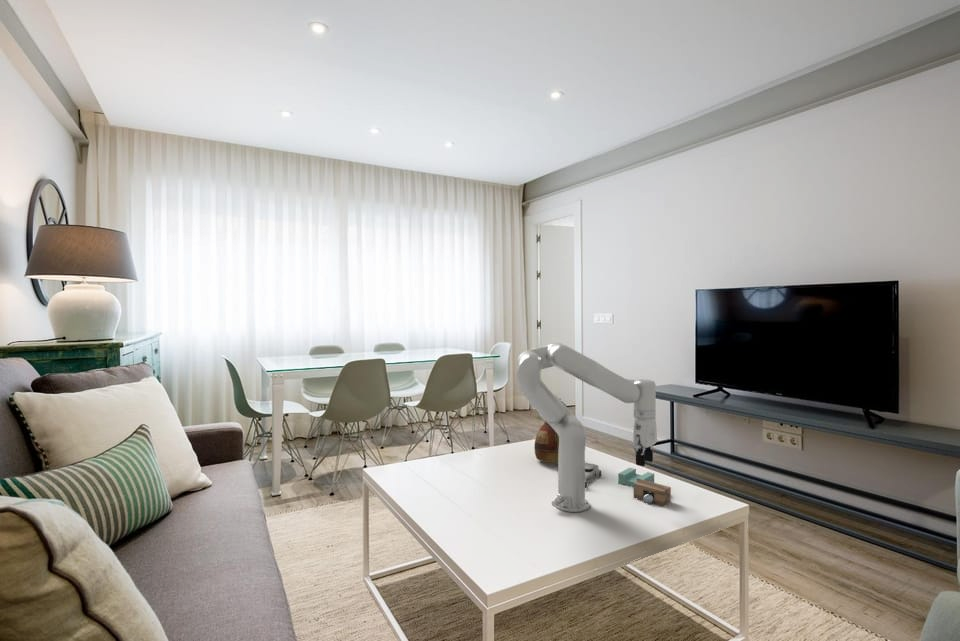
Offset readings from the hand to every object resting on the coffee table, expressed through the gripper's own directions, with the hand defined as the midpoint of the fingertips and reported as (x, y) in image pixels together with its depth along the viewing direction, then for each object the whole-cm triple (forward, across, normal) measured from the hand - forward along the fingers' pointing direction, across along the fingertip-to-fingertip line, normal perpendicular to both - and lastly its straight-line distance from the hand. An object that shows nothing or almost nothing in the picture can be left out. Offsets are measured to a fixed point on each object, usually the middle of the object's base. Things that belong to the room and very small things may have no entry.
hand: (644, 462), depth 172 cm
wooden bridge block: (+16, +6, 0) cm, 17 cm away
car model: (+16, +8, +31) cm, 35 cm away
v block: (+16, +18, +12) cm, 27 cm away
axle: (+16, +9, 0) cm, 18 cm away
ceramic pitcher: (+16, +18, +52) cm, 57 cm away
